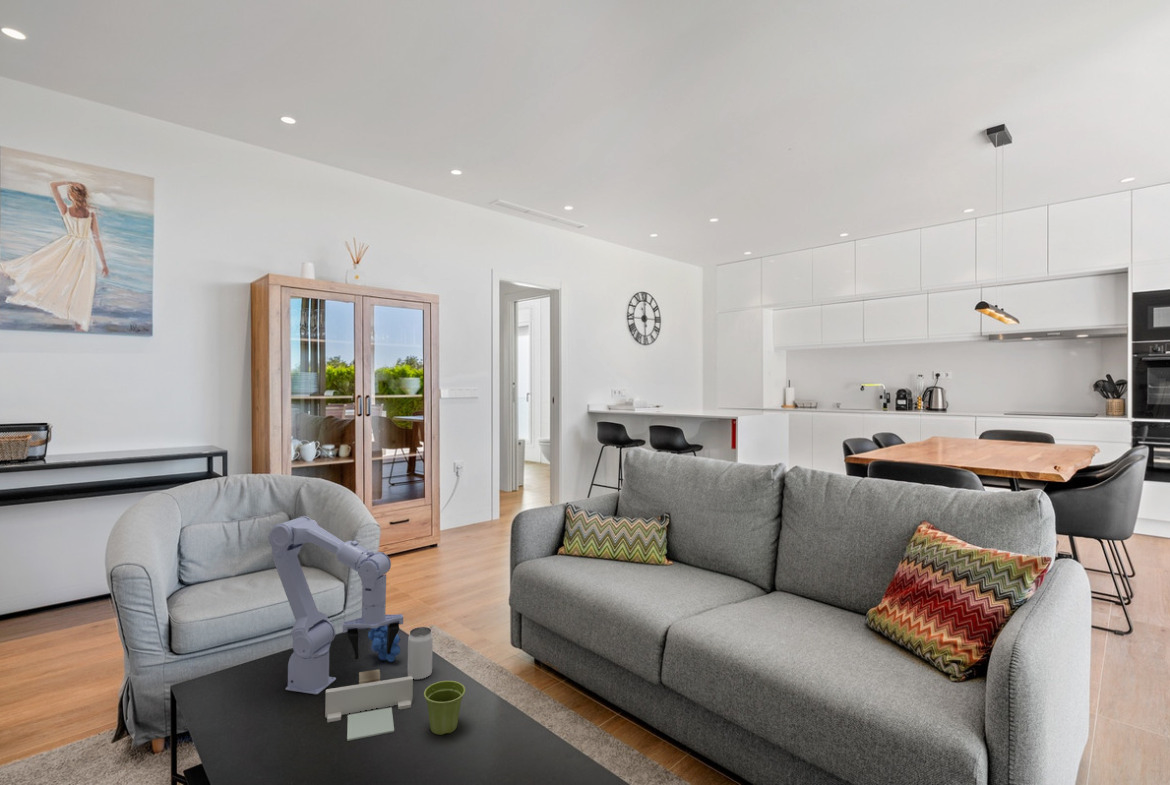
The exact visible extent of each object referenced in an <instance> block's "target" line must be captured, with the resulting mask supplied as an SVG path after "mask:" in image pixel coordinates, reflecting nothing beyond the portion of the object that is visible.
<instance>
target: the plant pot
mask: <svg viewBox="0 0 1170 785" xmlns="http://www.w3.org/2000/svg"><path fill="white" fill-rule="evenodd" d="M465 693H466V687H465V686H464V684H462V683H461V682H458V681H455V680H441V681H437V682H434V683H431V684H430V685H428V686H427V687H426V688H425V689H424V692H423V696H424V699H425V700H426V704H427V709H428V710H427V711H428V720H429V727H430V730H431V732H432V733H433V734H435V735H440V736H441V735H444V734H452V733H453V732H454V731H455V730H456V729H457V727H458V723H459V716H460V710H461V706H462V705H461V703H462V700H463V698H464V695H465Z"/></svg>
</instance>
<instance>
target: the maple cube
mask: <svg viewBox="0 0 1170 785" xmlns="http://www.w3.org/2000/svg"><path fill="white" fill-rule="evenodd" d="M380 671H381V670H380V669H372V670H366V671H359V672H358V684H364V683H370V682H377V681H381V672H380Z"/></svg>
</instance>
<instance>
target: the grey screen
mask: <svg viewBox="0 0 1170 785" xmlns="http://www.w3.org/2000/svg"><path fill="white" fill-rule="evenodd" d="M413 681H414V680H413V677H412V676H408V675H407V676H403V677H398V678H397V677H395V678H391V679H390V678H389V679H384V680H380V681H377V682H370V683H364V684H359V683H358V684H352V685H346V686H339V687H335V688H327V689H326V688H325V704H324V707H325V711H324V712H325V713H324V714H325V715H324V718H326V719H327V720H326V722H327V723H332V722H337V721H342V716H343V715H350V714H356V713H361V712H366V711H365V710H367V711H372V710H371V709H373V710H377V709H376V708H378V709H385V708H390V707H395V706H394V705H396V706H397V709H400V710H405V709H411V708H412V703H413V698H414V697H413V693H414V692H413V690H414V689H413V688H414V682H413ZM389 706H390V707H389ZM360 711H361V712H360ZM349 713H350V714H349Z"/></svg>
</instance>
